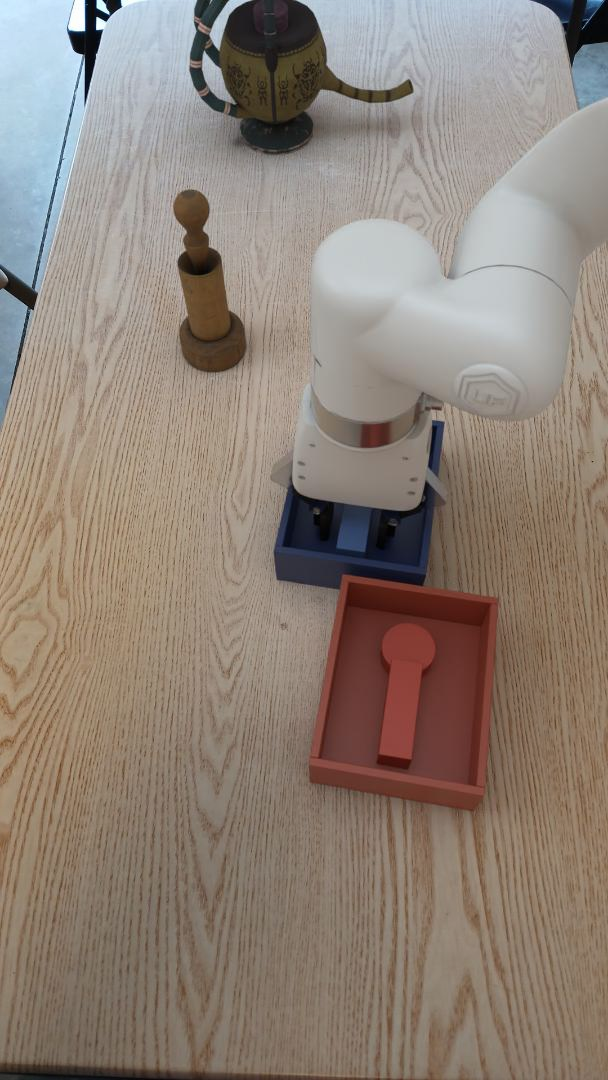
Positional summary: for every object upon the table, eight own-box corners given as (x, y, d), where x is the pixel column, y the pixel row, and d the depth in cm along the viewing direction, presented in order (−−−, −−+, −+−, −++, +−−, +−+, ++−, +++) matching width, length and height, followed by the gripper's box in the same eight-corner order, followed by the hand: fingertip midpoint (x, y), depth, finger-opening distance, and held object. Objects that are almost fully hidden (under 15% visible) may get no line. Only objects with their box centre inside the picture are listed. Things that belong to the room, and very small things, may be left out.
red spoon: (420, 771, 62) (424, 762, 60) (364, 761, 62) (366, 752, 60) (435, 637, 67) (439, 623, 65) (383, 628, 68) (386, 614, 65)
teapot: (205, 102, 104) (177, -118, 83) (406, 96, 103) (426, -126, 83) (200, 164, 98) (169, -56, 77) (413, 159, 97) (437, -64, 77)
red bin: (473, 811, 61) (484, 796, 57) (309, 782, 62) (308, 765, 58) (487, 623, 68) (499, 597, 64) (341, 600, 70) (342, 573, 65)
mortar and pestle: (168, 345, 84) (133, 192, 68) (218, 313, 86) (195, 158, 70) (209, 383, 81) (182, 233, 66) (259, 349, 83) (245, 196, 68)
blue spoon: (374, 569, 70) (375, 553, 68) (325, 562, 71) (325, 546, 68) (390, 463, 76) (393, 445, 73) (345, 457, 76) (346, 439, 74)
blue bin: (419, 601, 69) (426, 574, 65) (276, 579, 71) (273, 551, 66) (437, 454, 77) (444, 421, 72) (307, 437, 78) (307, 403, 74)
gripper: (494, 369, 57) (455, 508, 73) (255, 338, 59) (268, 481, 75) (486, 457, 54) (447, 583, 70) (232, 422, 55) (251, 553, 71)
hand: (354, 529), depth 72 cm, fingers open, 4 cm apart
